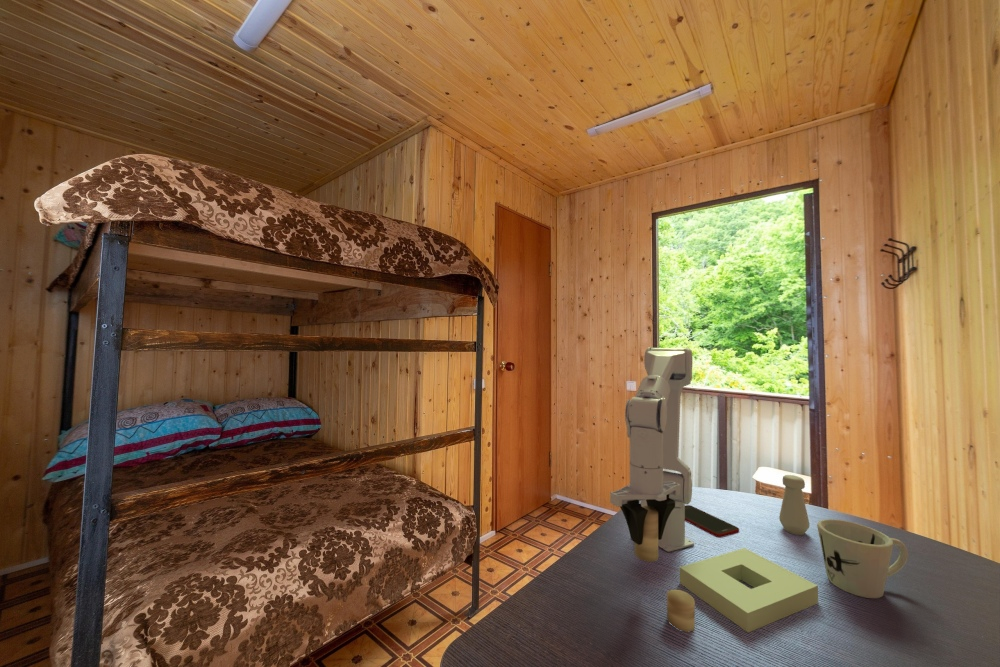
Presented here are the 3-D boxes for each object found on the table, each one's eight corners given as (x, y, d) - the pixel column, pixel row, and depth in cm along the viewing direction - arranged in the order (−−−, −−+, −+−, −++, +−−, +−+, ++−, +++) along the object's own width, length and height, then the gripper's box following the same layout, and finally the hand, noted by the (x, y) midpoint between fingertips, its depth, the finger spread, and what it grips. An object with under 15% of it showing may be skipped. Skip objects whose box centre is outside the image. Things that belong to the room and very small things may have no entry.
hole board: (679, 583, 71) (679, 567, 71) (744, 562, 78) (744, 547, 78) (748, 632, 59) (747, 613, 59) (818, 603, 66) (817, 585, 66)
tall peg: (629, 551, 69) (629, 507, 70) (646, 547, 71) (646, 504, 71) (645, 563, 66) (645, 517, 66) (663, 558, 67) (663, 513, 67)
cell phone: (689, 508, 104) (689, 504, 104) (741, 532, 91) (741, 528, 91) (668, 512, 101) (668, 509, 101) (718, 539, 88) (718, 535, 88)
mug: (804, 568, 76) (803, 517, 76) (880, 570, 75) (879, 519, 76) (850, 604, 65) (849, 545, 66) (939, 606, 65) (938, 547, 65)
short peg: (661, 617, 62) (661, 593, 62) (679, 611, 63) (679, 587, 64) (681, 635, 58) (681, 609, 58) (700, 628, 60) (700, 602, 60)
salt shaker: (815, 538, 87) (814, 482, 88) (787, 535, 89) (786, 480, 89) (800, 526, 93) (800, 473, 93) (774, 524, 94) (774, 471, 95)
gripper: (629, 476, 62) (629, 559, 62) (693, 465, 68) (694, 542, 67) (602, 463, 69) (602, 538, 69) (663, 454, 74) (663, 524, 74)
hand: (646, 539), depth 68 cm, fingers closed on tall peg, 4 cm apart
